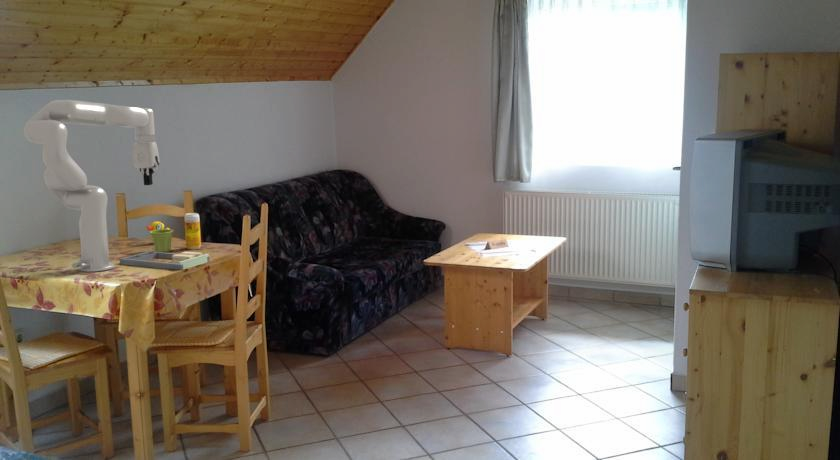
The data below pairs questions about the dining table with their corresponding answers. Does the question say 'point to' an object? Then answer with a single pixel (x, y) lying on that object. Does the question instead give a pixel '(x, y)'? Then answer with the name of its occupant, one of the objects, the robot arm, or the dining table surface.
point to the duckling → (156, 227)
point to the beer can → (192, 231)
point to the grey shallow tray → (141, 261)
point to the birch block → (184, 256)
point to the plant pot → (162, 240)
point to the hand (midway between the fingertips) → (148, 184)
